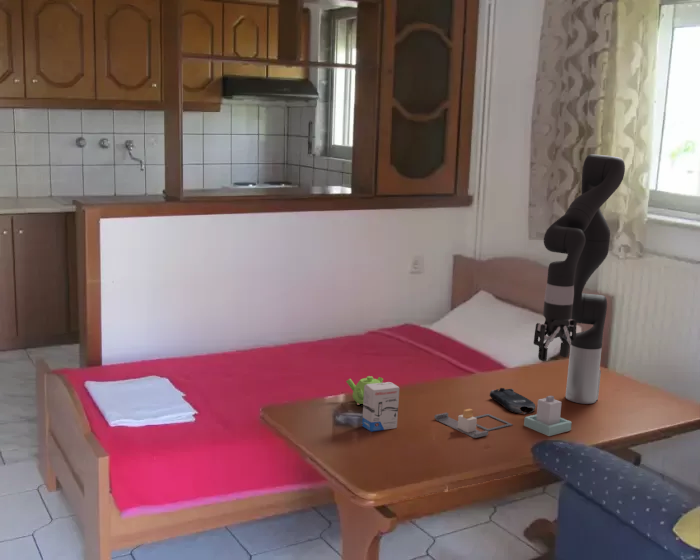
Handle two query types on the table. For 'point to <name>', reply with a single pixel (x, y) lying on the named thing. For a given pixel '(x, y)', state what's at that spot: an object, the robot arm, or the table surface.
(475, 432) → the latch rail
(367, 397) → the ink box
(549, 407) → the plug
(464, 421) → the latch tab
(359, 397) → the teapot
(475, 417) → the grey square frame
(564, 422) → the teal square tray
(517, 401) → the electronic device
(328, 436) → the table surface
